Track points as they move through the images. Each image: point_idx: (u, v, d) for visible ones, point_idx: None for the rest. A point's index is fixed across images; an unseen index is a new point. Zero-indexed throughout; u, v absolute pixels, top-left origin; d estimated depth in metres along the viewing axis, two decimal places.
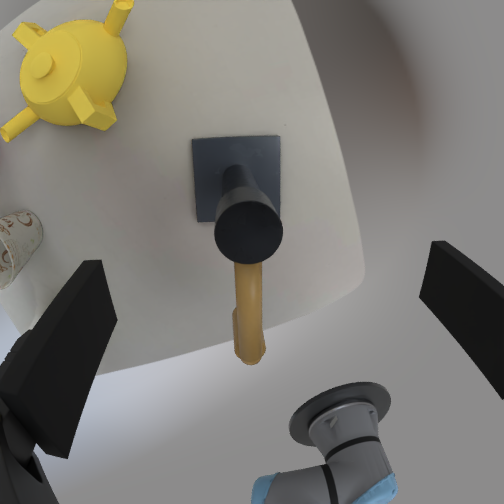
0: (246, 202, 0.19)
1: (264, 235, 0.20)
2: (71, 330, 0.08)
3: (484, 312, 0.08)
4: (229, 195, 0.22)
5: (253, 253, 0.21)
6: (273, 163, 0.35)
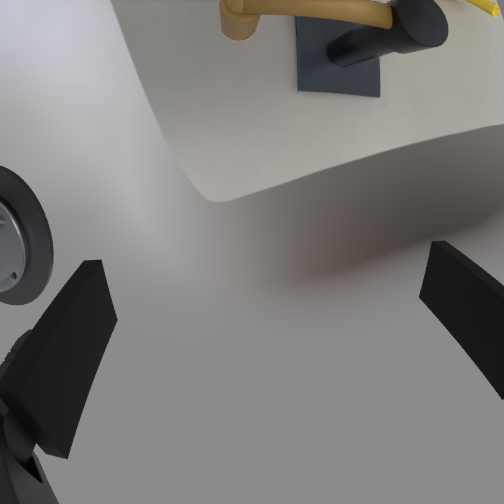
0: (446, 24, 0.14)
1: (424, 29, 0.14)
2: (71, 330, 0.08)
3: (484, 312, 0.08)
4: None
5: (407, 15, 0.14)
6: (356, 88, 0.31)
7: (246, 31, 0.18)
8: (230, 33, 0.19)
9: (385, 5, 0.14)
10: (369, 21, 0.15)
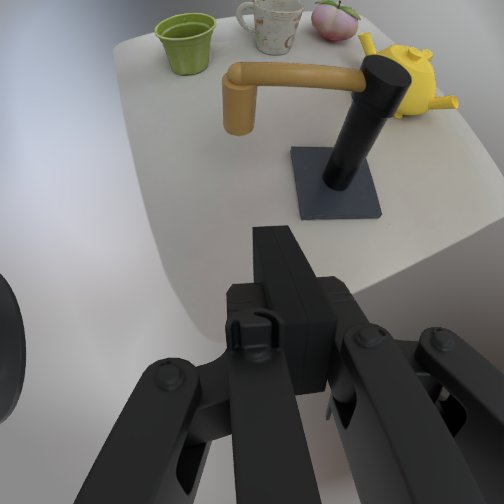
0: (408, 72, 0.21)
1: (391, 76, 0.20)
2: None
3: None
4: None
5: (374, 68, 0.20)
6: (357, 208, 0.35)
7: (245, 115, 0.24)
8: (231, 121, 0.25)
9: (355, 69, 0.21)
10: (346, 81, 0.21)
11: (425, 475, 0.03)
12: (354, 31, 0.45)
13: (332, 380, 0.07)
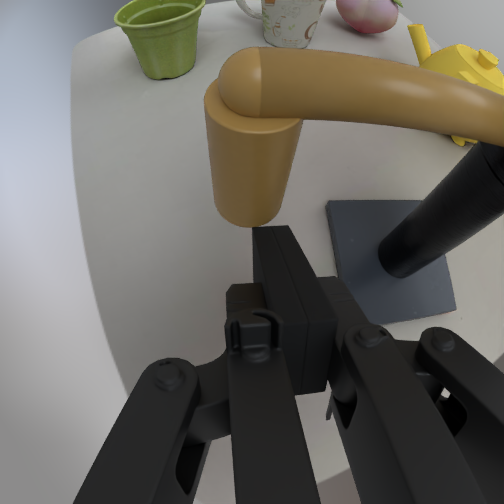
0: None
1: None
2: None
3: None
4: None
5: None
6: (426, 305, 0.21)
7: (267, 192, 0.10)
8: (232, 203, 0.11)
9: None
10: None
11: (426, 475, 0.03)
12: (394, 21, 0.30)
13: (333, 380, 0.07)
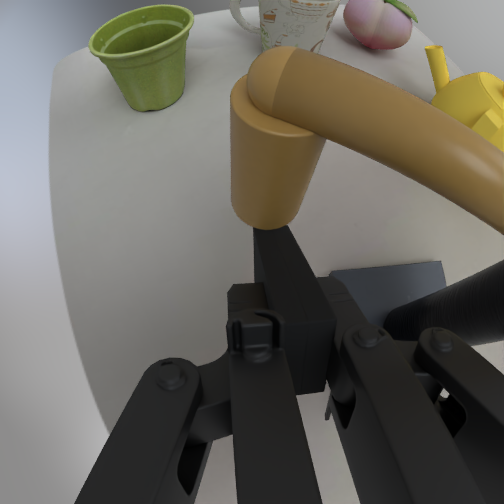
0: None
1: None
2: None
3: None
4: None
5: None
6: None
7: (270, 196, 0.10)
8: (238, 194, 0.11)
9: None
10: None
11: (424, 475, 0.03)
12: (408, 38, 0.28)
13: (331, 380, 0.07)
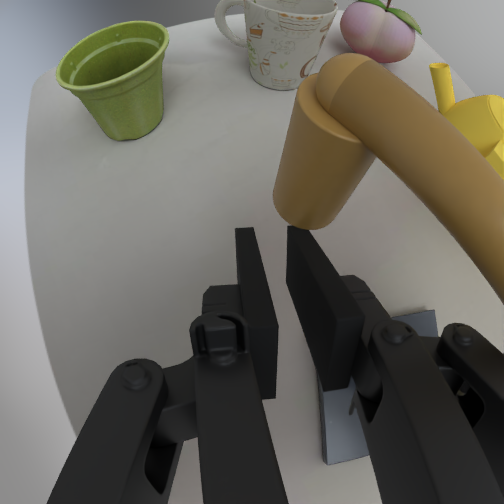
0: None
1: None
2: None
3: (309, 294, 0.10)
4: None
5: None
6: None
7: (305, 192, 0.10)
8: (279, 180, 0.11)
9: None
10: None
11: (447, 465, 0.03)
12: (410, 51, 0.26)
13: (358, 375, 0.08)
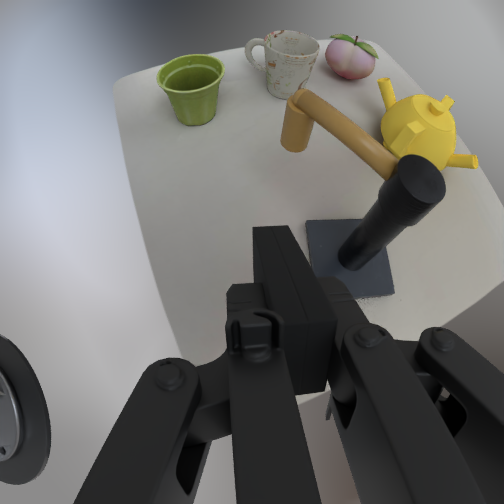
0: (442, 195, 0.20)
1: (415, 182, 0.20)
2: None
3: None
4: None
5: (407, 166, 0.20)
6: (371, 289, 0.35)
7: (291, 133, 0.28)
8: (282, 132, 0.29)
9: (396, 159, 0.22)
10: (374, 160, 0.22)
11: (425, 475, 0.03)
12: (371, 71, 0.44)
13: (332, 380, 0.07)
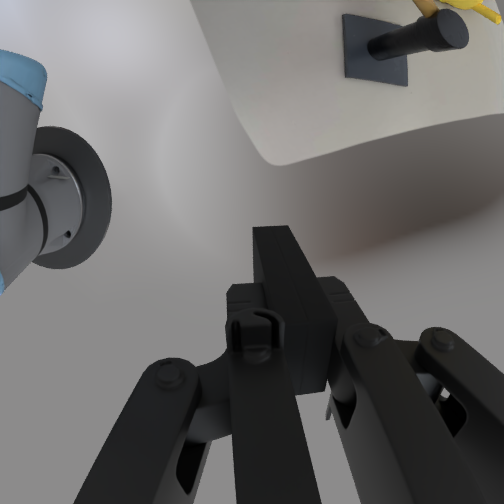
0: (464, 45, 0.20)
1: (448, 30, 0.19)
2: None
3: None
4: None
5: (444, 16, 0.18)
6: (389, 77, 0.36)
7: None
8: None
9: (437, 7, 0.19)
10: (420, 2, 0.19)
11: (425, 475, 0.03)
12: None
13: (332, 380, 0.07)
